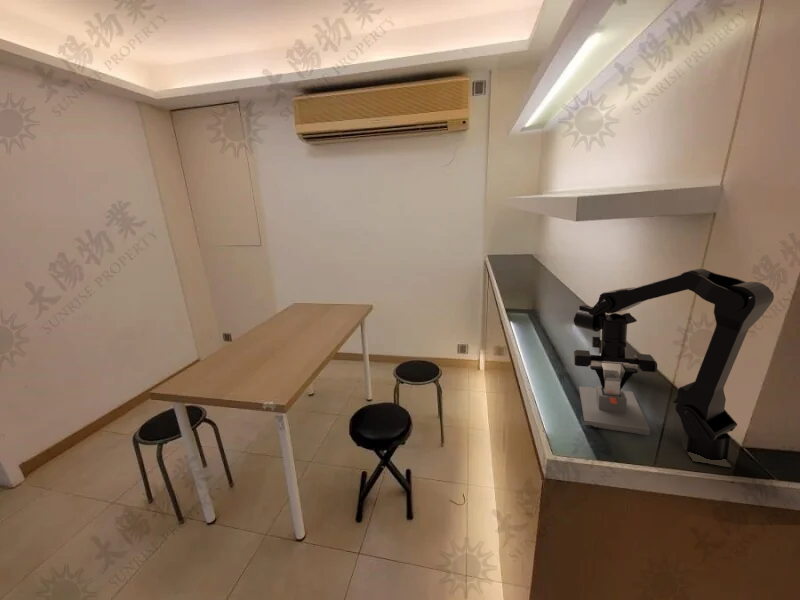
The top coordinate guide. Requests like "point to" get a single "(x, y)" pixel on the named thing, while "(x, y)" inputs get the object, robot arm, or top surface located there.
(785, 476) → the top surface
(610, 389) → the grey-brown stepped block
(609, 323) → the robot arm
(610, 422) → the jack stand base
